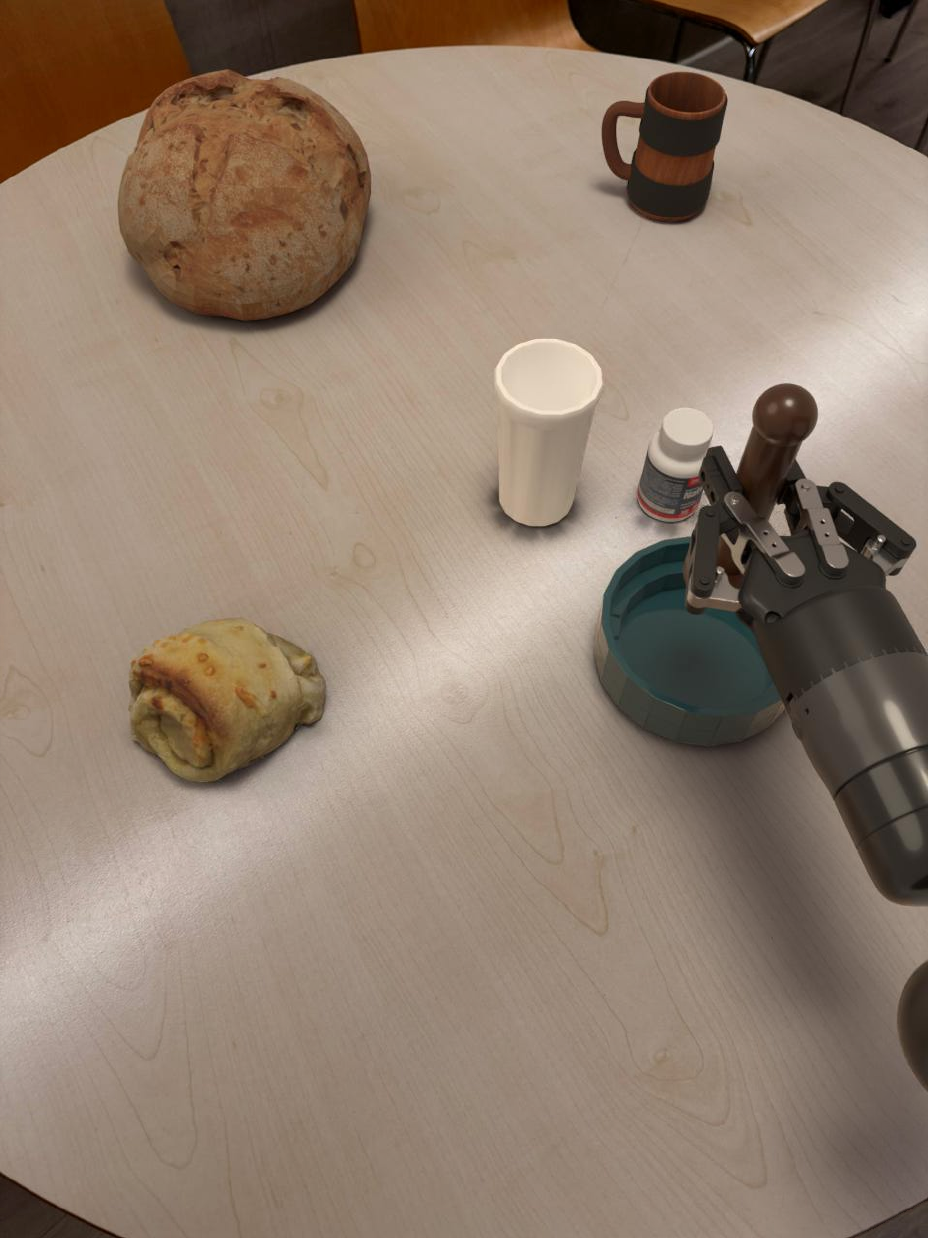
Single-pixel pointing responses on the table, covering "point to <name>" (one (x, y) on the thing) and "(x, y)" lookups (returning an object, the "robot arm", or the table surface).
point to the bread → (244, 195)
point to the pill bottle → (675, 465)
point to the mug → (669, 144)
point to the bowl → (679, 656)
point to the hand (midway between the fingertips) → (737, 451)
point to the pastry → (221, 696)
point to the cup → (543, 426)
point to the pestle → (769, 456)
